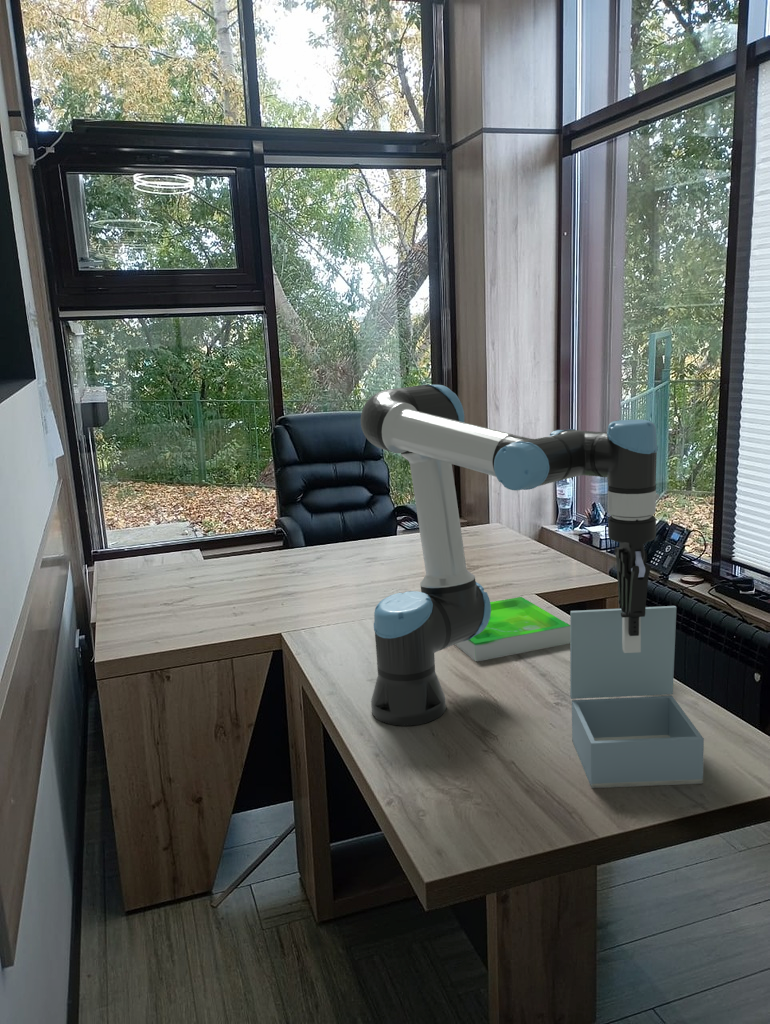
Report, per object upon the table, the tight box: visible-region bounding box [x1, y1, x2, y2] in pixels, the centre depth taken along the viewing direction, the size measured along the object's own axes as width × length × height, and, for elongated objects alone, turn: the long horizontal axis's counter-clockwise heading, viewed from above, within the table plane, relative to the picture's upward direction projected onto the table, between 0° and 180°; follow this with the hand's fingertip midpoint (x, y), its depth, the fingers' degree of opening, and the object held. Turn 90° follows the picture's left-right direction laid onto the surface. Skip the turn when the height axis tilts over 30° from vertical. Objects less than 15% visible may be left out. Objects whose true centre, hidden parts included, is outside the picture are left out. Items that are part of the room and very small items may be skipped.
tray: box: [454, 596, 570, 662], centre depth 202 cm, size 25×25×5 cm
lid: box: [569, 605, 677, 700], centre depth 144 cm, size 18×17×1 cm
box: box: [571, 695, 705, 789], centre depth 139 cm, size 18×16×8 cm
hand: (631, 650), depth 137 cm, fingers closed
